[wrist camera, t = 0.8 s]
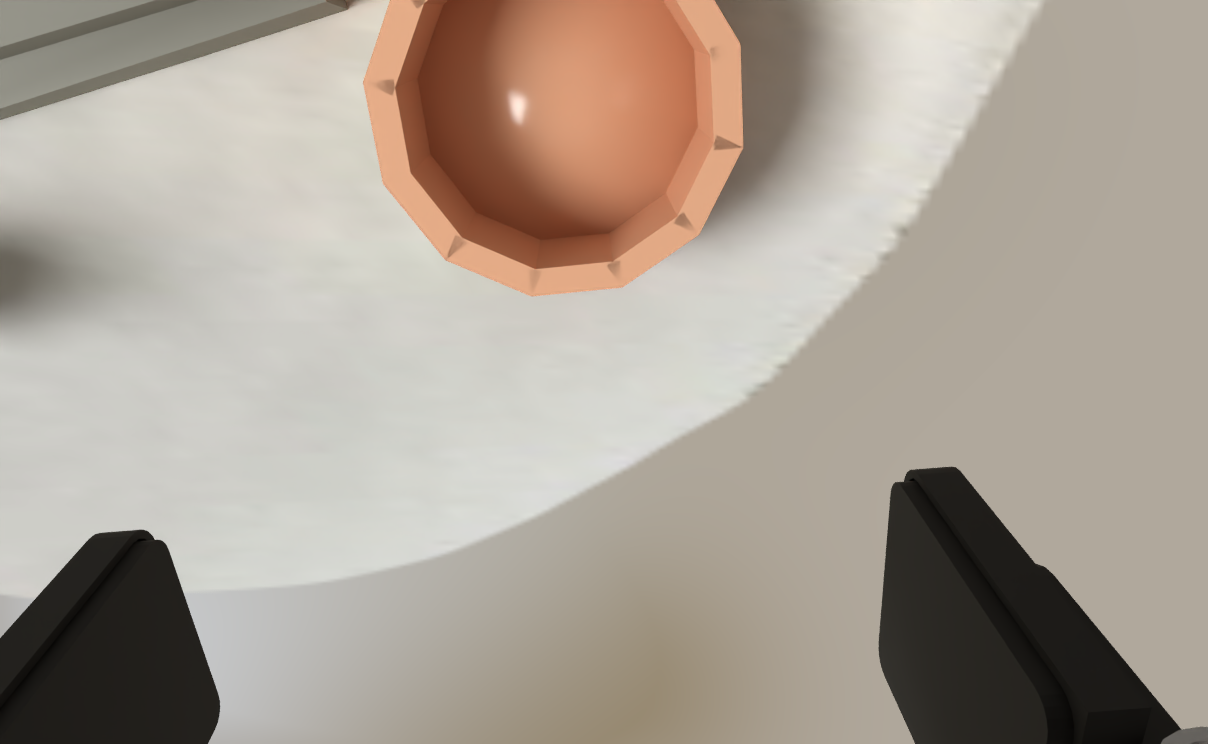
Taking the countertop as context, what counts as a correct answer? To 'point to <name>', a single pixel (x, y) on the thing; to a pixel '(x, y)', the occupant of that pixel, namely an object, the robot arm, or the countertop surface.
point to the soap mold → (124, 40)
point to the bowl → (556, 131)
